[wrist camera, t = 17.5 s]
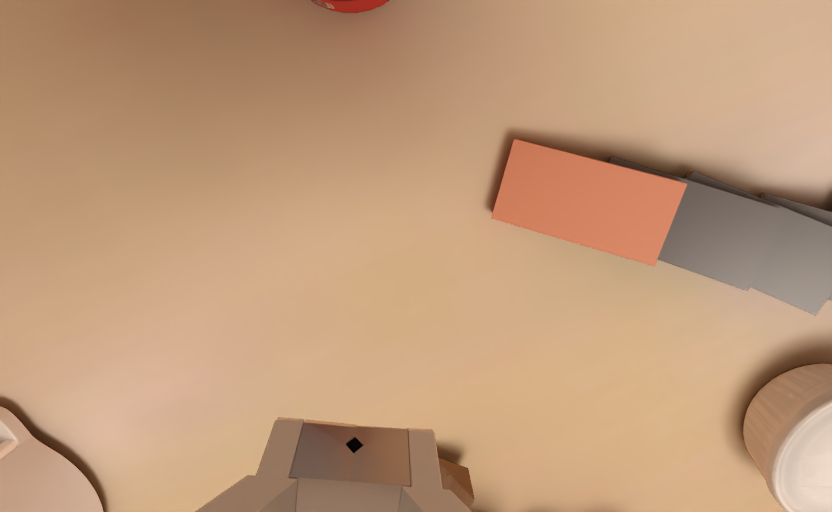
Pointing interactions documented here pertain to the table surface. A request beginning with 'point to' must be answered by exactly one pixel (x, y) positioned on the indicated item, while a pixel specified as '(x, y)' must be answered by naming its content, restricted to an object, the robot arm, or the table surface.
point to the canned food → (350, 5)
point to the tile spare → (587, 201)
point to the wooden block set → (456, 481)
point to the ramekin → (794, 437)
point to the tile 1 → (717, 231)
